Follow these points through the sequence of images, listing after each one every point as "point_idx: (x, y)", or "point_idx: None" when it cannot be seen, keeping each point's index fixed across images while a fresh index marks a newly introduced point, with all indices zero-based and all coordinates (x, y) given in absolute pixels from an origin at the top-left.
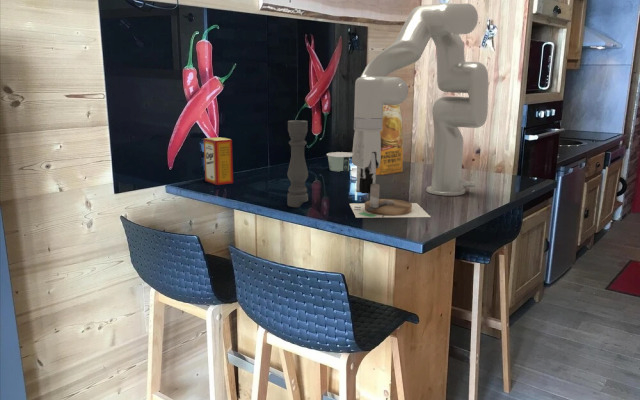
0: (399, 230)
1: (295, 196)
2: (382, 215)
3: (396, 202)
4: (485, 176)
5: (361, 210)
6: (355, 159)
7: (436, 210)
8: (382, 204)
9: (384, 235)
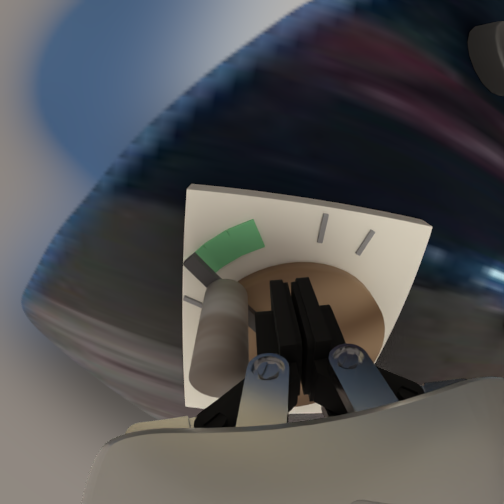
0: (99, 304)
1: (495, 31)
2: None
3: None
4: None
5: (311, 244)
6: (422, 467)
7: None
8: None
9: (49, 247)
